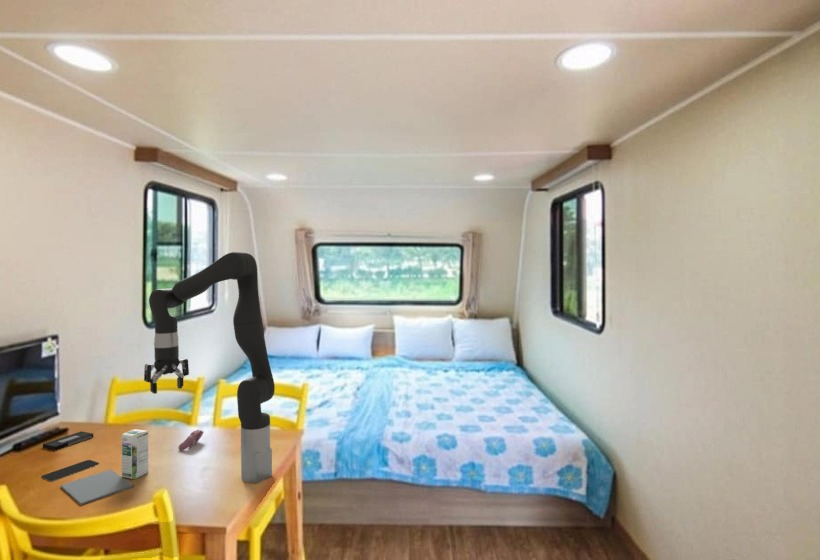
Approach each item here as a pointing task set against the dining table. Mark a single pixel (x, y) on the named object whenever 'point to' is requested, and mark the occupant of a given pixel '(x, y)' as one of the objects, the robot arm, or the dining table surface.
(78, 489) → the mat
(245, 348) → the robot arm
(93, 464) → the smartphone
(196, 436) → the purple-brown oblong lump
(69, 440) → the vhs tape
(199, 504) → the dining table surface
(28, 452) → the dining table surface
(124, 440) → the syrup box
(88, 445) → the dining table surface
